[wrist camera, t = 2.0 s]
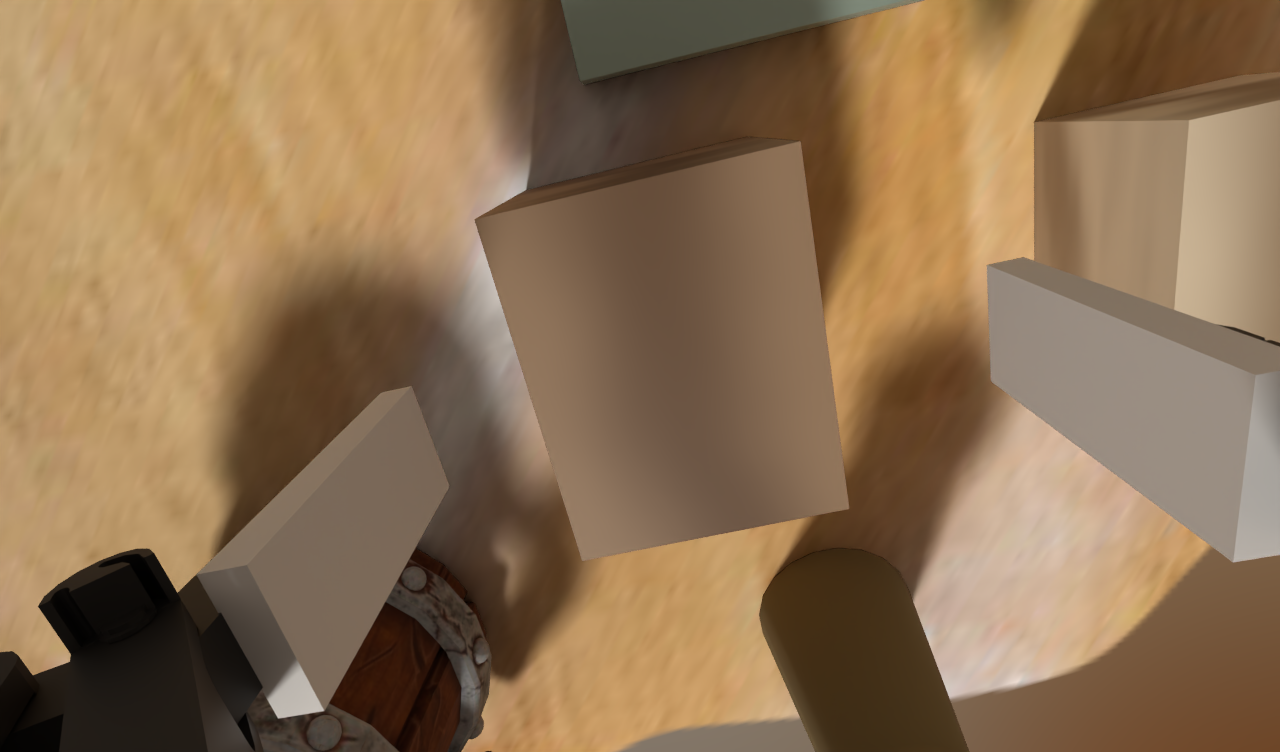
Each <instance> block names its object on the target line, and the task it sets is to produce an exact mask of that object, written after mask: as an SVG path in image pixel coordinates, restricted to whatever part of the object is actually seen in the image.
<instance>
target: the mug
mask: <svg viewBox="0 0 1280 752" xmlns="http://www.w3.org/2000/svg"><path fill="white" fill-rule="evenodd" d="M466 593H467V591H466V589H465V588H464V587H463V586H462V585H461V584H460V583H459V582H458V580H457V579H456V578H455V577H454V576H453V575H452V574H451V573H450V572H449V570H448V569H447V568H446V567H445V566H444V565H443V564H441V563H440V562H438V561H436V560H435V559H433V558H431V557H429V556H428V555H426V554H424V553H423V552H421V551H419V550H418V549H416V548H415V550H414V551H413V553H412V555H411V557H410V558H409V560H408V562H407V564H406V566H405V567H404V569H403V571H402V573H401V575H400V576H399V578H398V580H397V582H396V584H395V585H394V587H393V589H392V591H391V593H390V594H389V596H388V598H387V600H386V602H385V603H384V605H383V607H382V609H381V610H380V612H379V614H378V616H377V618H376V619H375V621H374V623H373V625H372V627H371V628H370V630H369V632H368V634H367V636H366V637H365V639H364V641H363V643H362V645H361V646H360V648H359V650H358V652H357V653H356V655H355V657H354V659H353V661H352V662H351V664H350V666H349V668H348V670H347V671H346V673H345V675H344V677H343V679H342V680H341V682H340V684H339V686H338V688H337V689H336V691H335V693H334V695H333V696H332V698H331V700H330V702H329V704H328V705H327V707H326V709H325V711H322V712H315V713H309V714H303V715H297V716H291V717H285V718H279V719H278V717H277V716H276V714H275V712H274V710H273V709H272V707H271V705H270V703H269V702H268V700H267V698H266V696H265V695H264V693H263V691H262V690H261V691H260V692H259V694H258V695H257V697H256V698H255V700H254V701H253V703H252V704H251V705H250V707H249V708H248V710H247V712H248V714H249V716H250V718H251V719H252V721H253V723H254V724H255V726H256V728H257V730H258V733H259V737H260V740H261V744H262V747H263V751H264V752H461V751H462V749H463V748H464V746H465V744H466V743H467V741H468V739H474V738H476V737H477V736H479V735H480V734H481V732H482V730H483V727H484V721H483V719H482V717H481V714H482V711H483V708H484V706H485V703H486V700H487V698H488V695H489V685H490V671H491V657H492V655H491V653H490V648H489V644H488V643H487V642H486V631H485V629H484V626H483V623H482V621H481V618H480V616H479V613H478V610H477V608H476V605H475V604H474V603H473V602H470V603H465V602H464V601H463V600H464V598H465V595H466ZM486 752H491V751H486Z"/></svg>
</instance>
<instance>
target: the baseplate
mask: <svg viewBox="0 0 1280 752" xmlns="http://www.w3.org/2000/svg"><path fill="white" fill-rule="evenodd" d="M919 1H923V0H561V4H562V8H563V12H564V16H565V21H566V25H567V29H568V33H569V38H570V42H571V46H572V50H573V54H574V59H575V63H576V67H577V71H578V76H579V80H580V82H581V83H583V84H584V85H585V84H589V83H593V82H597V81H601V80H605V79H609V78H613V77H617V76H621V75H625V74H629V73H633V72H637V71H641V70H645V69H649V68H653V67H657V66H661V65H665V64H669V63H673V62H677V61H681V60H685V59H689V58H693V57H697V56H701V55H706V54H710V53H714V52H718V51H722V50H726V49H730V48H734V47H738V46H742V45H746V44H750V43H754V42H758V41H762V40H766V39H770V38H774V37H778V36H782V35H786V34H790V33H794V32H798V31H802V30H806V29H810V28H814V27H818V26H822V25H827V24H831V23H835V22H839V21H843V20H847V19H851V18H855V17H859V16H863V15H867V14H871V13H875V12H879V11H883V10H887V9H891V8H895V7H899V6H903V5H907V4H911V3H915V2H919Z"/></svg>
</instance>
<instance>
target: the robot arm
mask: <svg viewBox="0 0 1280 752" xmlns="http://www.w3.org/2000/svg"><path fill="white" fill-rule="evenodd" d="M987 284H988V313H989V341H990V370H991V382H992V383H994V384H995V385H996V386H998V387H999V388H1000V389H1002V390H1003V391H1004V392H1006V393H1007V394H1008V395H1010V396H1011V397H1012V398H1014V399H1015V400H1017V401H1018V402H1019V403H1021V404H1022V405H1023V406H1025V407H1026V408H1027V409H1029V410H1030V411H1031V412H1033V413H1034V414H1035V415H1037V416H1038V417H1039V418H1041V419H1042V420H1043V421H1045V422H1046V423H1047V424H1049V425H1050V426H1051V427H1053V428H1054V429H1055V430H1057V431H1058V432H1059V433H1061V434H1062V435H1063V436H1065V437H1066V438H1067V439H1069V440H1070V441H1071V442H1073V443H1074V444H1075V445H1077V446H1078V447H1079V448H1081V449H1082V450H1083V451H1085V452H1086V453H1087V454H1089V455H1090V456H1091V457H1093V458H1094V459H1095V460H1097V461H1098V462H1100V463H1101V464H1102V465H1104V466H1105V467H1106V468H1108V469H1109V470H1110V471H1112V472H1113V473H1114V474H1116V475H1117V476H1118V477H1120V478H1121V479H1122V480H1124V481H1125V482H1126V483H1128V484H1129V485H1130V486H1132V487H1133V488H1134V489H1136V490H1137V491H1138V492H1140V493H1141V494H1142V495H1144V496H1145V497H1146V498H1148V499H1149V500H1150V501H1152V502H1153V503H1154V504H1156V505H1157V506H1158V507H1160V508H1161V509H1162V510H1164V511H1165V512H1166V513H1168V514H1169V515H1170V516H1172V517H1173V518H1174V519H1176V520H1177V521H1178V522H1180V523H1181V524H1183V525H1184V526H1185V527H1187V528H1188V529H1189V530H1191V531H1192V532H1193V533H1195V534H1196V535H1197V536H1199V537H1200V538H1201V539H1203V540H1204V541H1205V542H1207V543H1208V544H1209V545H1211V546H1212V547H1213V548H1215V549H1216V550H1217V551H1219V552H1220V553H1221V554H1223V555H1224V556H1225V557H1227V558H1228V559H1229V560H1231V561H1232V562H1238V561H1244V560H1250V559H1257V558H1263V557H1269V556H1275V555H1280V343H1279V342H1276V341H1273V340H1267V341H1266V340H1265V338H1264V337H1261V336H1258V335H1255V334H1253V333H1250V332H1247V331H1244V330H1241V329H1238V328H1235V327H1230V326H1223V325H1217V324H1213V323H1210V322H1208V321H1205V320H1202V319H1199V318H1196V317H1193V316H1190V315H1188V314H1185V313H1182V312H1179V311H1176V310H1173V309H1170V308H1168V307H1165V306H1162V305H1159V304H1156V303H1153V302H1150V301H1147V300H1145V299H1142V298H1139V297H1136V296H1133V295H1130V294H1127V293H1125V292H1122V291H1119V290H1116V289H1113V288H1110V287H1107V286H1104V285H1102V284H1099V283H1096V282H1093V281H1090V280H1087V279H1084V278H1082V277H1079V276H1076V275H1073V274H1070V273H1067V272H1064V271H1062V270H1059V269H1056V268H1053V267H1050V266H1047V265H1044V264H1041V263H1039V262H1036V261H1033V260H1030V259H1027V258H1024V257H1022V258H1017V259H1013V260H1008V261H1003V262H998V263H994V264H989V265H987ZM449 487H450V486H449V483H448V481H447V478H446V475H445V473H444V470H443V468H442V465H441V462H440V460H439V457H438V454H437V452H436V449H435V446H434V444H433V441H432V438H431V436H430V433H429V430H428V428H427V425H426V422H425V420H424V417H423V415H422V412H421V409H420V407H419V404H418V401H417V399H416V396H415V393H414V391H413V388H412V386H409V387H405V388H400V389H395V390H390V391H386V392H381V393H380V394H379V395H378V396H377V397H376V398H375V399H374V400H373V401H372V402H371V403H370V404H369V405H368V406H367V407H366V408H365V409H364V410H363V411H362V412H361V413H360V414H359V415H358V416H357V417H356V418H355V419H354V420H353V421H352V422H351V423H350V424H349V425H348V426H347V427H346V428H344V429H343V430H342V431H341V432H340V433H339V434H338V435H337V436H336V437H335V438H334V439H333V440H332V441H331V442H330V443H329V444H328V445H327V446H326V447H325V448H324V449H323V450H322V451H321V452H320V453H319V454H318V455H317V456H316V457H315V458H314V459H313V460H312V461H311V462H310V463H309V464H308V465H307V466H306V467H305V468H304V469H303V470H302V471H301V472H300V473H299V474H298V475H297V476H296V477H295V478H294V479H293V480H292V481H291V482H290V483H289V484H288V485H287V486H286V487H285V488H284V489H283V490H282V491H281V492H280V493H279V494H278V495H277V496H276V497H275V498H274V499H272V500H271V501H270V502H269V503H268V504H267V505H266V506H265V507H264V508H263V509H262V510H261V511H260V512H259V513H258V514H257V515H256V516H255V517H254V518H253V519H252V520H251V521H250V522H249V523H248V524H247V525H246V526H245V527H244V528H243V529H242V530H241V531H240V532H239V533H238V534H237V535H236V536H235V537H234V538H233V539H232V540H231V541H230V542H229V543H228V544H227V545H226V546H225V547H224V548H223V549H222V550H221V551H220V552H219V553H218V554H217V555H216V556H215V557H214V558H213V559H212V560H211V561H210V562H209V563H208V564H207V565H206V566H205V567H204V568H203V569H201V570H200V571H199V572H198V573H197V574H196V575H195V576H194V577H193V578H192V579H191V580H190V581H189V582H188V583H187V584H186V585H185V586H184V587H183V588H182V589H181V590H180V591H179V592H178V593H177V592H176V590H175V588H174V586H173V585H172V583H171V581H170V580H169V578H168V576H167V575H166V573H165V571H164V569H163V568H162V566H161V564H160V563H159V561H158V559H157V557H156V556H155V554H154V553H153V552H152V551H151V550H150V549H134V550H130V551H126V552H122V553H119V554H116V555H114V556H111V557H109V558H106V559H103V560H101V561H99V562H97V563H95V564H93V565H91V566H89V567H87V568H85V569H83V570H81V571H79V572H77V573H76V574H74V575H72V576H71V577H69V578H68V579H66V580H65V581H63V582H61V583H60V584H58V585H57V586H56V587H55V588H54V589H53V590H51V591H50V592H49V593H48V594H47V595H46V596H44V598H43V599H42V601H41V603H40V604H39V606H38V607H39V608H40V610H41V611H42V613H43V614H44V616H45V617H46V619H47V620H48V621H49V623H50V624H51V626H52V627H53V629H54V630H55V632H56V633H57V635H58V636H59V637H60V639H61V640H62V642H63V643H64V645H65V646H66V648H67V649H68V651H69V652H70V653H71V658H70V662H68V663H66V664H63V665H60V666H58V667H55V668H52V669H49V670H47V671H44V672H41V673H38V674H36V675H32V674H31V673H30V671H29V670H28V668H27V667H26V666H25V664H24V663H23V662H22V660H21V659H20V657H19V656H18V655H17V654H15V653H14V652H13V651H10V652H0V752H264V751H263V747H262V744H261V740H260V737H259V733H258V730H257V728H256V726H255V724H254V723H253V721H252V719H251V718H250V716H249V714H248V712H247V710H248V708H249V707H250V705H251V704H252V703H253V701H254V700H255V698H256V697H257V695H258V694H259V692H260V691H261V690H262V691H263V693H264V695H265V696H266V698H267V700H268V702H269V703H270V705H271V707H272V709H273V710H274V712H275V714H276V716H277V717H278V719H279V718H285V717H291V716H297V715H303V714H309V713H315V712H322V711H325V709H326V707H327V705H328V704H329V702H330V700H331V698H332V696H333V695H334V693H335V691H336V689H337V688H338V686H339V684H340V682H341V680H342V679H343V677H344V675H345V673H346V671H347V670H348V668H349V666H350V664H351V662H352V661H353V659H354V657H355V655H356V653H357V652H358V650H359V648H360V646H361V645H362V643H363V641H364V639H365V637H366V636H367V634H368V632H369V630H370V628H371V627H372V625H373V623H374V621H375V619H376V618H377V616H378V614H379V612H380V610H381V609H382V607H383V605H384V603H385V602H386V600H387V598H388V596H389V594H390V593H391V591H392V589H393V587H394V585H395V584H396V582H397V580H398V578H399V576H400V575H401V573H402V571H403V569H404V567H405V566H406V564H407V562H408V560H409V558H410V557H411V555H412V553H413V551H414V550H415V548H416V546H417V544H418V542H419V541H420V539H421V537H422V535H423V533H424V532H425V530H426V528H427V526H428V524H429V523H430V521H431V519H432V517H433V515H434V514H435V512H436V510H437V508H438V507H439V505H440V503H441V501H442V499H443V498H444V496H445V494H446V492H447V490H448V489H449Z"/></svg>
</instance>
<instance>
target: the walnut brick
mask: <svg viewBox="0 0 1280 752" xmlns="http://www.w3.org/2000/svg"><path fill="white" fill-rule="evenodd" d="M475 223H476V226H477V229H478V232H479V235H480V238H481V242H482V245H483V248H484V251H485V254H486V258H487V261H488V264H489V267H490V270H491V273H492V277H493V280H494V283H495V286H496V289H497V292H498V296H499V299H500V302H501V305H502V308H503V311H504V315H505V318H506V321H507V324H508V327H509V330H510V334H511V337H512V340H513V343H514V346H515V349H516V353H517V356H518V359H519V362H520V365H521V368H522V372H523V375H524V378H525V381H526V384H527V387H528V391H529V394H530V397H531V400H532V403H533V407H534V410H535V413H536V416H537V419H538V422H539V426H540V429H541V432H542V435H543V438H544V441H545V445H546V448H547V451H548V454H549V457H550V460H551V464H552V467H553V470H554V473H555V476H556V479H557V483H558V486H559V489H560V492H561V495H562V498H563V502H564V505H565V508H566V511H567V514H568V517H569V521H570V524H571V527H572V530H573V533H574V536H575V540H576V543H577V546H578V549H579V552H580V555H581V559H582V561H585V560H590V559H595V558H600V557H606V556H611V555H616V554H621V553H626V552H631V551H636V550H641V549H647V548H652V547H657V546H662V545H667V544H672V543H677V542H682V541H688V540H693V539H698V538H703V537H708V536H713V535H718V534H723V533H729V532H734V531H739V530H744V529H749V528H754V527H759V526H764V525H769V524H775V523H780V522H785V521H790V520H795V519H800V518H805V517H810V516H816V515H821V514H826V513H831V512H836V511H841V510H846V509H849V502H848V495H847V487H846V480H845V472H844V465H843V457H842V450H841V442H840V435H839V427H838V419H837V412H836V404H835V397H834V389H833V382H832V374H831V367H830V359H829V351H828V344H827V336H826V329H825V321H824V314H823V306H822V299H821V291H820V284H819V276H818V268H817V261H816V253H815V246H814V238H813V231H812V223H811V216H810V208H809V201H808V193H807V185H806V178H805V170H804V163H803V155H802V148H801V141H793V140H781V139H770V138H758V137H743V138H739V139H735V140H731V141H727V142H723V143H719V144H714V145H710V146H706V147H702V148H698V149H694V150H690V151H686V152H681V153H677V154H673V155H669V156H665V157H661V158H657V159H653V160H648V161H644V162H640V163H636V164H632V165H628V166H624V167H619V168H615V169H611V170H607V171H603V172H599V173H595V174H591V175H586V176H582V177H578V178H574V179H570V180H566V181H562V182H557V183H553V184H549V185H545V186H541V187H537V188H533V189H529V190H525V191H524V192H522V193H520V194H518V195H517V196H515V197H513V198H511V199H510V200H508V201H506V202H504V203H502V204H501V205H499V206H497V207H495V208H494V209H492V210H490V211H488V212H487V213H485V214H483V215H481V216H480V217H478V218H476V219H475Z"/></svg>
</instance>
